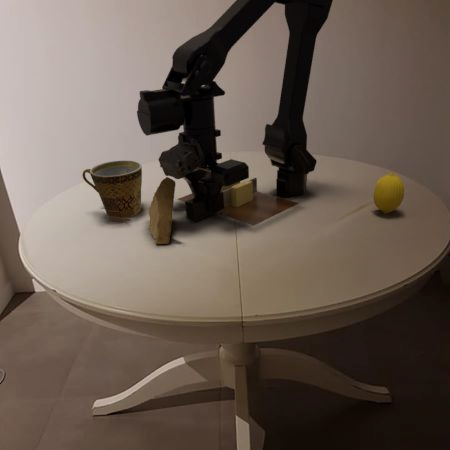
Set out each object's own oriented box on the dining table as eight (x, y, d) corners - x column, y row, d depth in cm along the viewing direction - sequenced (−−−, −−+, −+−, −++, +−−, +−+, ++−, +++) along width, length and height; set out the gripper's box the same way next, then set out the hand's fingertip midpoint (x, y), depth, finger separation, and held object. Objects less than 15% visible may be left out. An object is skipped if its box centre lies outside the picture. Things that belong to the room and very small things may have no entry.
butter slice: (247, 198, 99) (247, 180, 97) (253, 200, 98) (252, 181, 96) (231, 205, 96) (230, 186, 94) (236, 207, 95) (236, 188, 93)
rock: (179, 237, 81) (200, 208, 88) (145, 199, 78) (169, 173, 85) (143, 261, 88) (165, 233, 95) (110, 228, 85) (135, 201, 92)
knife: (195, 221, 89) (193, 204, 87) (186, 218, 90) (184, 201, 88) (260, 192, 100) (260, 176, 98) (251, 190, 101) (251, 174, 99)
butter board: (222, 185, 109) (222, 181, 109) (298, 207, 96) (299, 203, 95) (177, 203, 101) (176, 199, 101) (253, 230, 88) (253, 225, 87)
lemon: (367, 209, 94) (372, 169, 89) (394, 207, 94) (400, 167, 89) (376, 220, 89) (382, 179, 85) (405, 217, 89) (412, 176, 85)
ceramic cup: (156, 208, 99) (150, 161, 94) (134, 228, 91) (125, 177, 86) (103, 203, 103) (94, 158, 98) (77, 222, 95) (66, 173, 90)
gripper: (130, 127, 84) (143, 209, 92) (201, 144, 72) (208, 235, 81) (178, 115, 90) (185, 193, 99) (250, 129, 79) (251, 215, 87)
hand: (205, 208), depth 91 cm, fingers closed on knife, 2 cm apart
